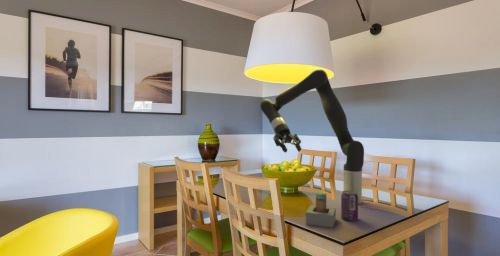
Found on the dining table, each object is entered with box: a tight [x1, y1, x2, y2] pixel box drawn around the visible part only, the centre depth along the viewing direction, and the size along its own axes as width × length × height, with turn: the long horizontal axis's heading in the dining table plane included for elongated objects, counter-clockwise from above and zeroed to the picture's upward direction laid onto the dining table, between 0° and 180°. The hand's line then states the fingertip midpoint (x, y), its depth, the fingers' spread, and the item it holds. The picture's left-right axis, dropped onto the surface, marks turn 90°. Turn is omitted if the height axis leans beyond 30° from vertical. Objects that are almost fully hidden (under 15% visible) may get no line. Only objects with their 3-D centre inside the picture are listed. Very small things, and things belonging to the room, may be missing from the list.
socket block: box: [305, 204, 337, 229], centre depth 122 cm, size 11×11×5 cm
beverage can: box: [340, 190, 359, 222], centre depth 125 cm, size 7×7×12 cm
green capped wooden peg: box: [315, 192, 327, 213], centre depth 122 cm, size 4×4×12 cm
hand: (293, 151), depth 140 cm, fingers open, 8 cm apart
